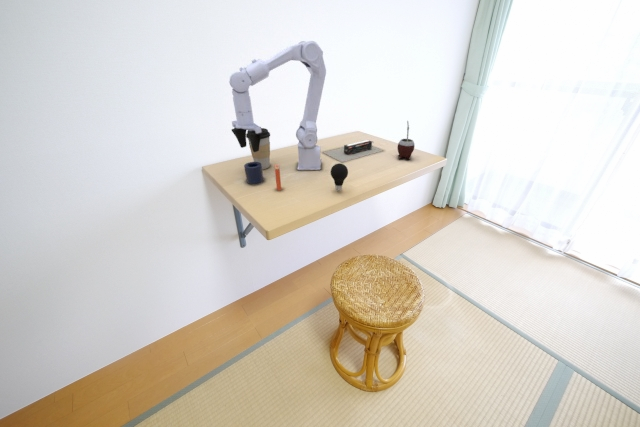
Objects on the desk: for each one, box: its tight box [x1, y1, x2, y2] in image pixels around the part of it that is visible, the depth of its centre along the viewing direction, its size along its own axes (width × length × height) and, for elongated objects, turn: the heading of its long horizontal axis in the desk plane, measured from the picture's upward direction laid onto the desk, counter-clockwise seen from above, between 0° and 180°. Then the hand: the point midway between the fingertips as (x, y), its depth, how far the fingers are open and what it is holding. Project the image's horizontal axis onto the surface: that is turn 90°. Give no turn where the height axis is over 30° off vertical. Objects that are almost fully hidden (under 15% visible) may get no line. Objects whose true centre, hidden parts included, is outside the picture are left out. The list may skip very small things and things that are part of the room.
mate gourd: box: [396, 120, 415, 161], centre depth 113 cm, size 8×8×15 cm
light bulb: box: [330, 162, 349, 192], centre depth 88 cm, size 6×6×10 cm
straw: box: [274, 164, 282, 191], centre depth 89 cm, size 2×2×9 cm
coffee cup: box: [246, 127, 271, 170], centre depth 105 cm, size 9×9×15 cm
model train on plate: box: [323, 139, 383, 163], centre depth 123 cm, size 14×25×4 cm, turn 124°
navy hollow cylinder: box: [243, 161, 265, 186], centre depth 96 cm, size 6×6×6 cm
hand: (249, 149), depth 98 cm, fingers open, 7 cm apart
